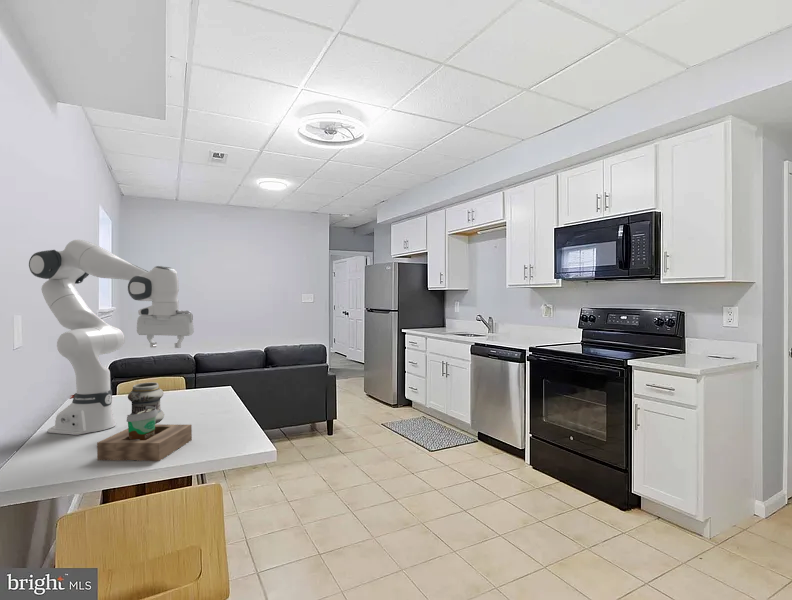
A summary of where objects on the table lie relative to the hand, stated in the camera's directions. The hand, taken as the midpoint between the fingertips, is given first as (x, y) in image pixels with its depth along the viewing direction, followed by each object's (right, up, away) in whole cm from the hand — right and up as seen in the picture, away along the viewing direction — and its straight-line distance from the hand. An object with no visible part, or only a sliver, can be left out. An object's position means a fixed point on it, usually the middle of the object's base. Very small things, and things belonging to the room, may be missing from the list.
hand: (165, 347), depth 171 cm
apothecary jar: (-8, -32, +2) cm, 33 cm away
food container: (+2, -29, -17) cm, 34 cm away
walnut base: (+3, -32, -17) cm, 37 cm away
